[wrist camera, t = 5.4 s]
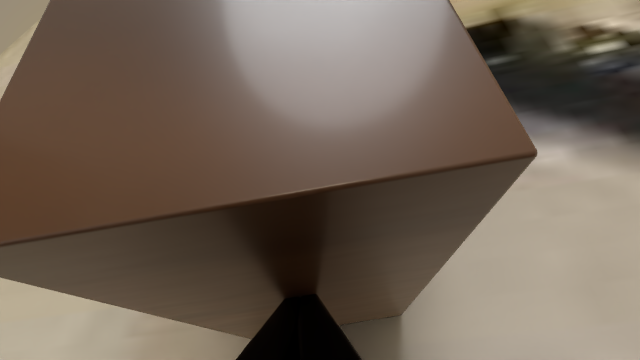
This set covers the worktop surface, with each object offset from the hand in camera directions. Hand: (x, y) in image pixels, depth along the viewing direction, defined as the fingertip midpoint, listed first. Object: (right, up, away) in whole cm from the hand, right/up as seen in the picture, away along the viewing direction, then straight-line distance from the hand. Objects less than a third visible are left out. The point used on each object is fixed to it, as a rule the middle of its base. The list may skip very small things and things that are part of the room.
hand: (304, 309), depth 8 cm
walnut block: (0, 0, +8) cm, 8 cm away
